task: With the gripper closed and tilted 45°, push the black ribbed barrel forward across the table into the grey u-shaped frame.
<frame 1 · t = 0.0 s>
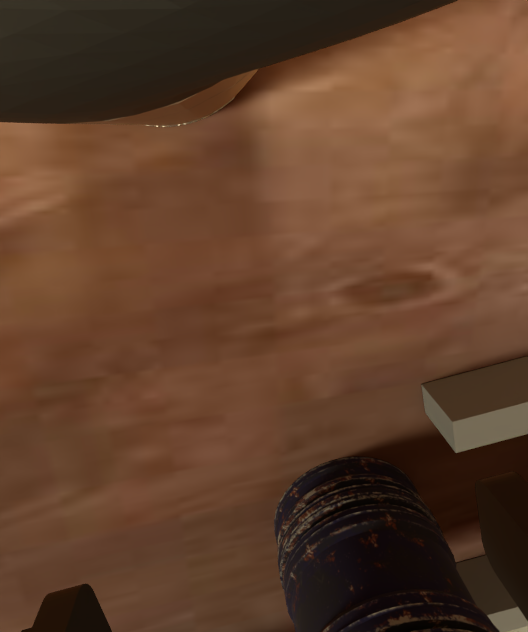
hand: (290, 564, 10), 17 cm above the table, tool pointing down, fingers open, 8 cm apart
grey u-shaped frame: (495, 479, 32), on the table
black ribbed barrel: (346, 516, 32), on the table
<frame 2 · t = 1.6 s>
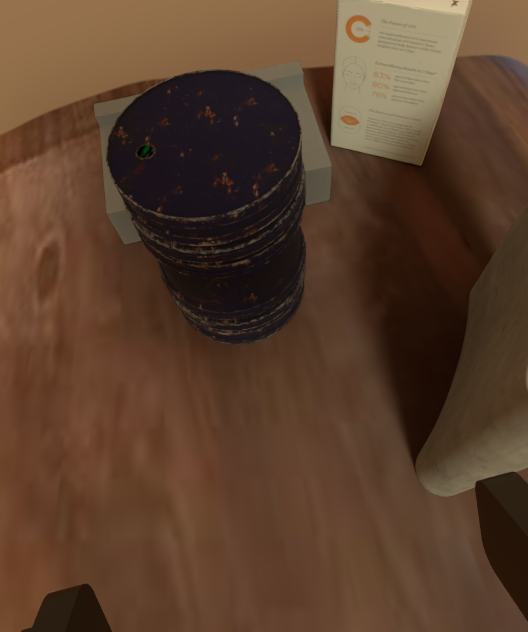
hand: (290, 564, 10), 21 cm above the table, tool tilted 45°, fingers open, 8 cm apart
small box: (384, 132, 43), on the table
hip flask: (474, 382, 33), on the table
grey u-shaped frame: (219, 184, 42), on the table
black ribbed barrel: (240, 286, 38), on the table
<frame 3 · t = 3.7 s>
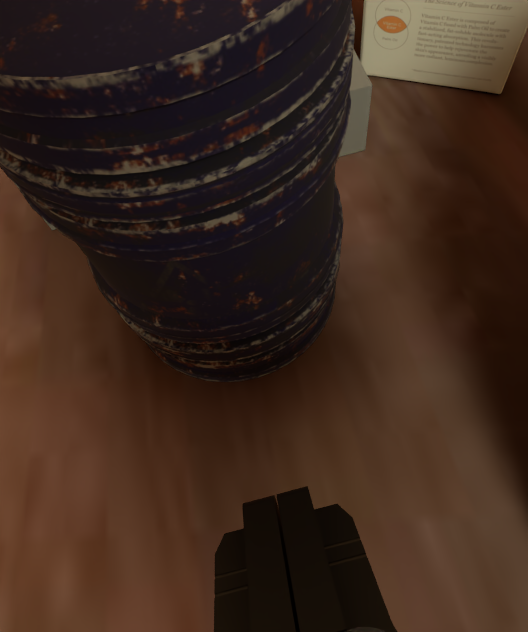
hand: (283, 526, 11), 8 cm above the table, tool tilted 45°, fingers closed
small box: (436, 53, 29), on the table
grey u-shaped frame: (196, 137, 28), on the table
black ribbed barrel: (233, 287, 24), on the table
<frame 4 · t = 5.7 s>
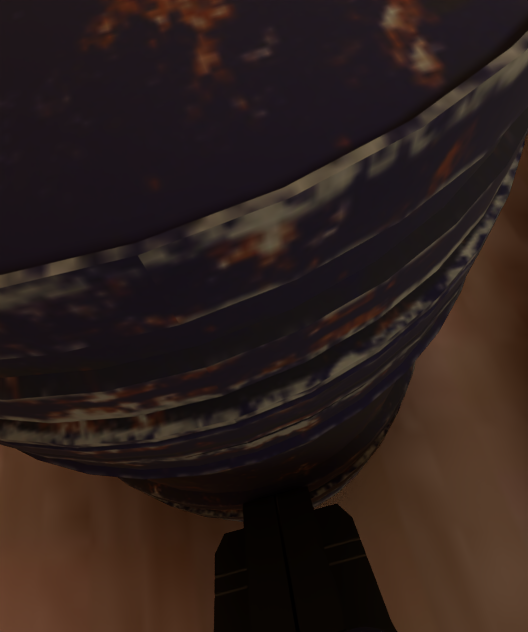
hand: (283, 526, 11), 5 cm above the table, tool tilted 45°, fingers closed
black ribbed barrel: (254, 379, 18), on the table, touching gripper
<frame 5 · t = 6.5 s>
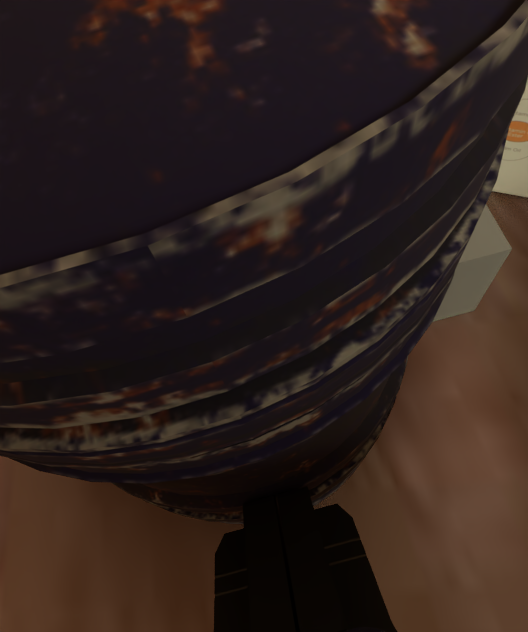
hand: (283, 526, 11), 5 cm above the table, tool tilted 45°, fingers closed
grey u-shaped frame: (225, 280, 20), on the table
black ribbed barrel: (248, 381, 18), on the table, touching gripper
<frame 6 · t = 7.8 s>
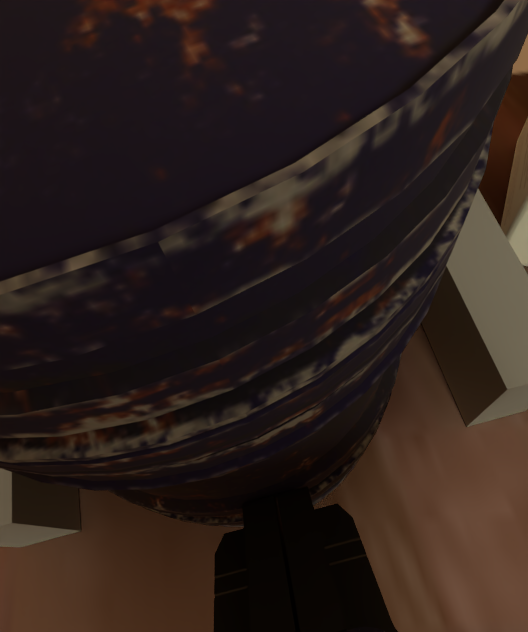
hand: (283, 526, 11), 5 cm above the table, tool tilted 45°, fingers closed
grey u-shaped frame: (247, 367, 18), on the table
black ribbed barrel: (242, 383, 18), on the table, touching gripper
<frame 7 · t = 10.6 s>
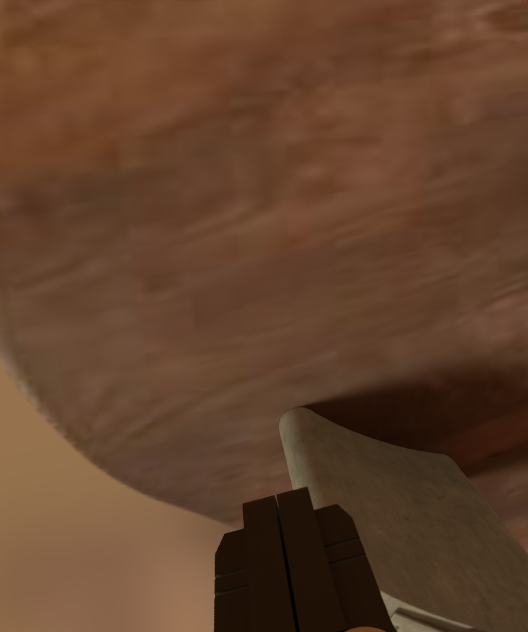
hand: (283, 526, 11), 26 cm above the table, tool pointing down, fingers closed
hip flask: (366, 451, 41), on the table
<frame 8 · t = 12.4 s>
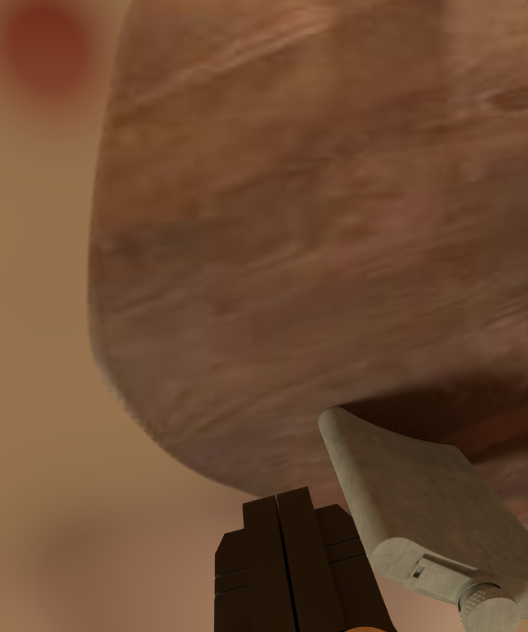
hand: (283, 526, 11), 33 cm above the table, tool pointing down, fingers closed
hip flask: (389, 443, 50), on the table
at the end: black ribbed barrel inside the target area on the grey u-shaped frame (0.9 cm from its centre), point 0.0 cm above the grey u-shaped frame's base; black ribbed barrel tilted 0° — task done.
